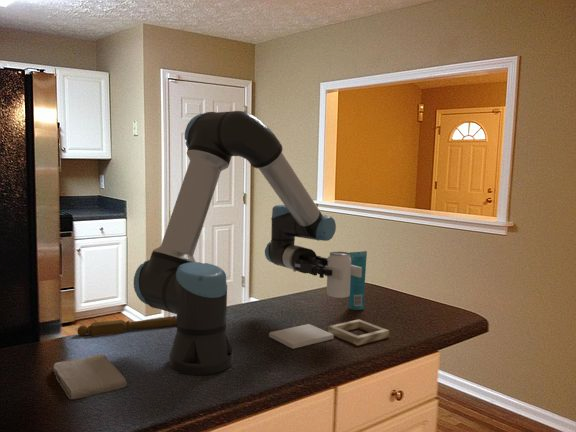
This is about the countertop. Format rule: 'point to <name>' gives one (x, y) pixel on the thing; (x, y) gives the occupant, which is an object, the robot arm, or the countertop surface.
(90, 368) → the washcloth
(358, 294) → the tube
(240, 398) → the countertop surface
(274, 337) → the trivet
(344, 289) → the can
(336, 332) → the holder
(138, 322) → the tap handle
